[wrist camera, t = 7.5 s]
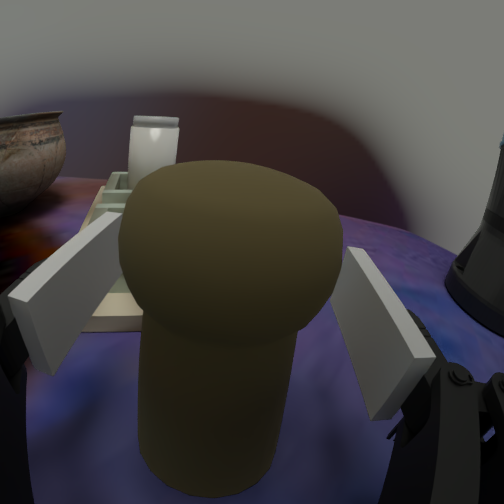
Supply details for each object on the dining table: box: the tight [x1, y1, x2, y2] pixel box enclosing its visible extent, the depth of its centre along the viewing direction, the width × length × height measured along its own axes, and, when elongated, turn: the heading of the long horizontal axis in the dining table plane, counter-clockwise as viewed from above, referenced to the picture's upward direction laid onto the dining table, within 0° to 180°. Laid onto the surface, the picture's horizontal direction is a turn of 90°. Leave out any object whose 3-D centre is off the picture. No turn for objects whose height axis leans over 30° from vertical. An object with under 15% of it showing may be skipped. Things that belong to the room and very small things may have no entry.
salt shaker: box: [127, 116, 179, 190], centre depth 32 cm, size 6×6×10 cm
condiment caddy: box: [79, 172, 143, 332], centre depth 28 cm, size 14×29×4 cm, turn 19°
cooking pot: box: [0, 111, 66, 217], centre depth 26 cm, size 25×19×12 cm
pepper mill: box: [118, 160, 343, 498], centre depth 9 cm, size 6×6×11 cm
